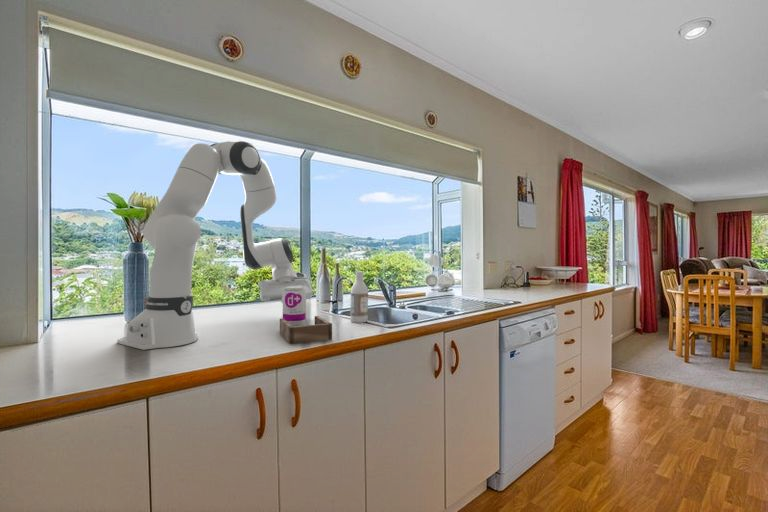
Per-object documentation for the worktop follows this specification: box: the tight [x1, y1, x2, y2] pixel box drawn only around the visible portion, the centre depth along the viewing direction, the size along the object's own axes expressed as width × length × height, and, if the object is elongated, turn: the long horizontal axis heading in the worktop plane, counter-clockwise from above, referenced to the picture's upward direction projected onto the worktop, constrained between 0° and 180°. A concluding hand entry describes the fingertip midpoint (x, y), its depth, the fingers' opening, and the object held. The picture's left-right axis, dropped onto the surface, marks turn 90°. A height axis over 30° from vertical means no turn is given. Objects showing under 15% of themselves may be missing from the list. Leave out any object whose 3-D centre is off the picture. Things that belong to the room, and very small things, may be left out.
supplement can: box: [282, 286, 307, 327], centre depth 134 cm, size 8×8×15 cm
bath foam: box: [349, 270, 369, 324], centre depth 147 cm, size 7×7×20 cm
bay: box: [279, 315, 333, 345], centre depth 121 cm, size 15×13×5 cm
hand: (289, 307), depth 141 cm, fingers closed
